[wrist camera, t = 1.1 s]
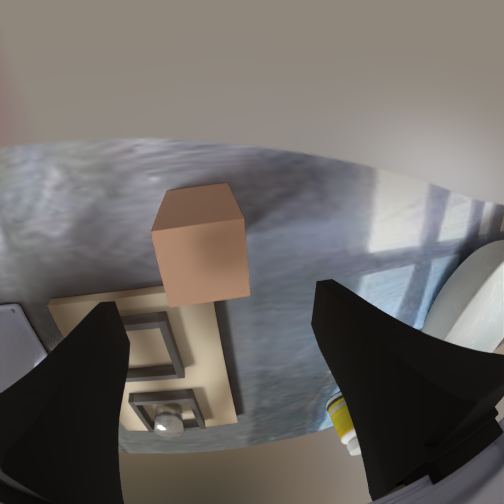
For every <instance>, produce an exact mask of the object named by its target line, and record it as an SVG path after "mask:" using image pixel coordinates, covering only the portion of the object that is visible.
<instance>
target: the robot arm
mask: <svg viewBox="0 0 504 504" xmlns="http://www.w3.org/2000/svg"><path fill="white" fill-rule="evenodd" d="M311 325H312V328H313V331H314V334H315V337H316V340H317V343H318V346H319V348H320V350H321V352H322V354H323V357H324V359H325V361H326V363H327V365H328V367H329V369H330V371H331V373H332V375H333V377H334V379H335V381H336V383H337V385H338V387H339V389H340V391H341V393H342V395H343V397H344V400H345V402H346V405H347V408H348V411H349V414H350V417H351V419H352V422H353V426H354V429H355V432H356V436H357V439H358V442H359V446H360V450H361V454H362V458H363V462H364V467H365V471H366V477H367V482H368V487H369V494H370V496H371V498H372V501H373V502H371V503H368V504H504V418H503V419H502V420H501V421H500V422H497V421H496V419H495V417H496V416H497V415H498V411H497V410H496V408H495V406H496V405H497V403H498V402H499V401H500V400H501V399H502V398H503V396H504V355H502V354H495V353H489V352H483V351H478V350H474V349H470V348H466V347H462V346H459V345H456V344H452V343H449V342H447V341H444V340H441V339H438V338H436V337H433V336H431V335H428V334H426V333H424V332H421V331H419V330H417V329H415V328H413V327H411V326H409V325H407V324H405V323H403V322H401V321H399V320H397V319H396V318H394V317H392V316H390V315H388V314H387V313H385V312H383V311H382V310H380V309H378V308H377V307H375V306H374V305H372V304H370V303H369V302H367V301H366V300H364V299H363V298H361V297H360V296H358V295H357V294H355V293H354V292H352V291H350V290H349V289H347V288H346V287H344V286H343V285H341V284H340V283H338V282H336V281H334V280H333V279H330V280H322V281H317V282H316V291H315V299H314V307H313V315H312V322H311ZM129 357H130V340H129V338H128V335H127V333H126V330H125V327H124V325H123V322H122V319H121V317H120V314H119V311H118V308H117V305H116V302H115V301H108V302H100V303H98V304H97V305H96V306H95V307H94V308H93V309H92V310H91V311H90V312H89V313H88V314H87V315H86V316H85V317H84V318H83V319H82V321H81V322H80V323H79V324H78V325H77V326H76V327H75V328H74V329H73V330H72V331H71V332H70V333H69V334H68V335H67V336H66V337H65V338H64V339H63V340H62V341H61V342H60V343H59V344H58V345H57V346H56V347H55V348H54V349H53V350H52V351H51V352H50V353H49V355H48V354H47V352H46V351H45V349H44V348H43V346H42V344H41V343H40V341H39V339H38V338H37V336H36V334H35V332H34V331H33V329H32V327H31V325H30V323H29V322H28V320H27V318H26V316H25V314H24V312H23V310H22V308H21V307H20V306H19V305H18V304H9V305H0V504H124V502H123V496H122V490H121V482H120V472H119V454H118V430H119V418H120V411H121V405H122V400H123V394H124V389H125V384H126V378H127V373H128V368H129Z"/></svg>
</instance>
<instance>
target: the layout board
mask: <svg viewBox="0 0 504 504" xmlns="http://www.w3.org/2000/svg"><path fill="white" fill-rule="evenodd" d="M108 301H115V302H116V305H117V308H118V311H119V314H120V317H121V319H122V322H123V325H124V327H125V330H126V333H127V335H128V338H129V340H130V357H129V368H128V373H127V378H126V384H125V389H124V394H123V400H122V405H121V411H120V418H119V421H120V422H121V423H122V424H123V426H124V427H125V428H126V429H127V430H148V431H149V432H155V430H154V428H155V406H156V404H171V403H177V404H179V405H181V406H182V408H183V429H184V431H186V430H198V429H206V427H207V426H216V425H223V424H231V423H237V416H236V412H235V407H234V403H233V398H232V394H231V389H230V384H229V380H228V375H227V370H226V365H225V360H224V355H223V350H222V345H221V339H220V334H219V329H218V323H217V318H216V312H215V307H214V302H207V303H199V304H192V305H185V306H177V307H169V304H168V300H167V297H166V293H165V289H164V285H163V286H155V287H148V288H140V289H132V290H124V291H116V292H107V293H99V294H90V295H82V296H73V297H64V298H55V299H51V300H50V302H49V303H48V305H47V307H48V309H49V311H50V313H51V315H52V317H53V319H54V321H55V323H56V325H57V327H58V328H59V330H60V332H61V334H62V336H63V338H65V337H66V336H67V335H68V334H69V333H70V332H71V331H72V330H73V329H74V328H75V327H76V326H77V325H78V324H79V323H80V322H81V321H82V319H83V318H84V317H85V316H86V315H87V314H88V313H89V312H90V311H91V310H92V309H93V308H94V307H95V306H96V305H97V304H98V303H100V302H108Z"/></svg>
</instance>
